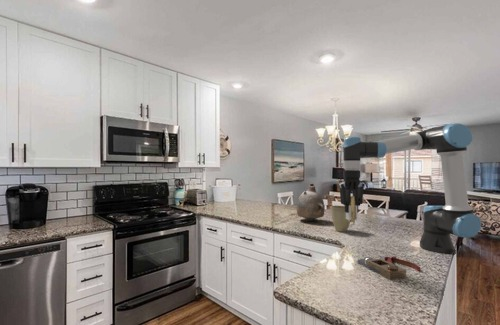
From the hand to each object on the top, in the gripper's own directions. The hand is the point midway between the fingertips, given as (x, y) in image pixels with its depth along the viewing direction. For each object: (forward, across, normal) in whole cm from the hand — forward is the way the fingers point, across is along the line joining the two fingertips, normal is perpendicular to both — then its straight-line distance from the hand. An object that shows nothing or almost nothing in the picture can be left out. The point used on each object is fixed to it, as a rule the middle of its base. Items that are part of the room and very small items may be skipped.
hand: (351, 219), depth 122 cm
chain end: (+18, -3, +12) cm, 22 cm away
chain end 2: (+18, -3, +17) cm, 25 cm away
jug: (+19, -24, -80) cm, 85 cm away
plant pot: (+19, -29, -48) cm, 59 cm away
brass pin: (+1, 0, 0) cm, 1 cm away
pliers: (+19, -16, +11) cm, 28 cm away
